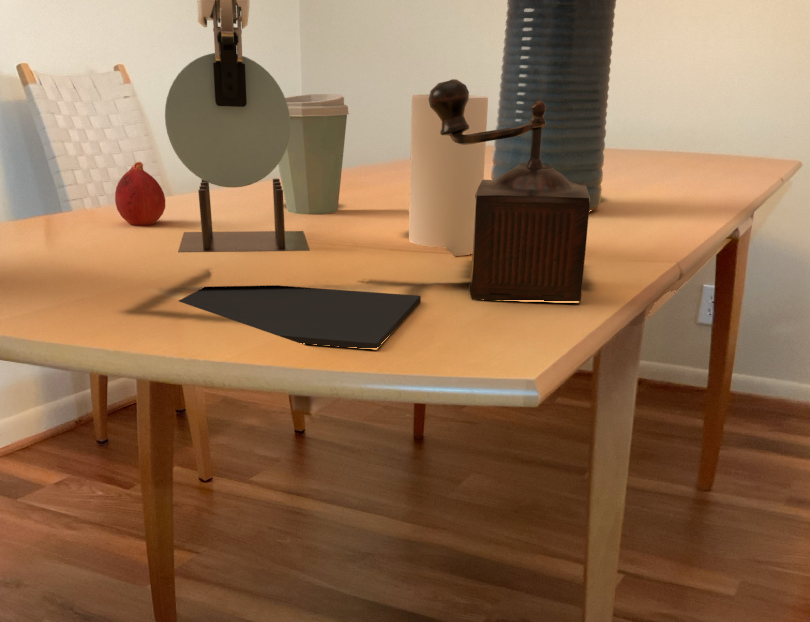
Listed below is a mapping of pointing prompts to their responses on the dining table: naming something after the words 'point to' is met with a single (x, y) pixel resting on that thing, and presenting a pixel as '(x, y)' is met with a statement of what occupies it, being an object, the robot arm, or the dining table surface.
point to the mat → (310, 312)
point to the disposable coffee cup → (314, 153)
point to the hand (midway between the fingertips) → (231, 104)
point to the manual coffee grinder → (520, 215)
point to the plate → (227, 125)
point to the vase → (557, 86)
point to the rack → (242, 240)
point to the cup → (444, 177)
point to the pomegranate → (139, 197)
